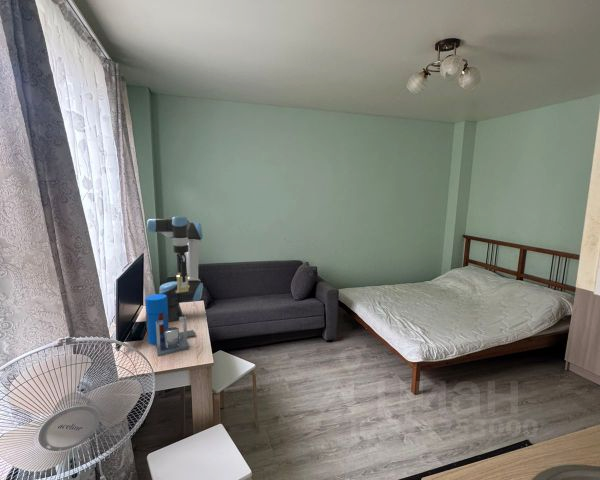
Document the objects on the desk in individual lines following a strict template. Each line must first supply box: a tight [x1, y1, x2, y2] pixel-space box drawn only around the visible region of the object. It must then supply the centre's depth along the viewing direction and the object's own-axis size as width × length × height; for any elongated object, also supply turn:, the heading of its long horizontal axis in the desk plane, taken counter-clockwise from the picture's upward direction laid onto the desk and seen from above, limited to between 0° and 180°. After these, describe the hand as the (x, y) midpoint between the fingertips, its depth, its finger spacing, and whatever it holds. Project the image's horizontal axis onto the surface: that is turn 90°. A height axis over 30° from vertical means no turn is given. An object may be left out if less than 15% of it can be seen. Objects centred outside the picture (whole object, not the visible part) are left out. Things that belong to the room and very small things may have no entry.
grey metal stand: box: [155, 316, 190, 357], centre depth 160 cm, size 11×15×16 cm
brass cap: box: [175, 273, 190, 293], centre depth 169 cm, size 11×7×9 cm, turn 167°
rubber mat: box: [179, 329, 196, 339], centre depth 176 cm, size 8×8×1 cm
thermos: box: [145, 293, 170, 346], centre depth 168 cm, size 11×11×25 cm
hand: (182, 285), depth 170 cm, fingers closed on brass cap, 6 cm apart
